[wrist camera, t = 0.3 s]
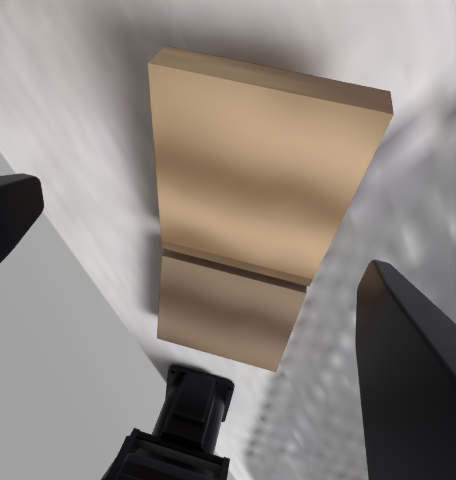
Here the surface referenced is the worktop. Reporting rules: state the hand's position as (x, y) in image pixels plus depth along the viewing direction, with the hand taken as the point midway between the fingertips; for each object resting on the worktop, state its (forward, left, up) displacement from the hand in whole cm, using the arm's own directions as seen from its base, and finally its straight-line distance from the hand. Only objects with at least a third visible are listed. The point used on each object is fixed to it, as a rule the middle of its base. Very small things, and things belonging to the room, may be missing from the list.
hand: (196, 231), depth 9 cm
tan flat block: (-14, 0, -13) cm, 19 cm away
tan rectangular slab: (-3, 0, -11) cm, 11 cm away
